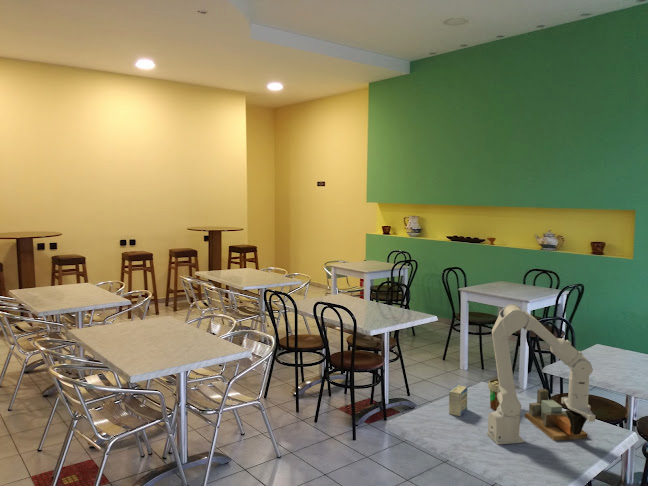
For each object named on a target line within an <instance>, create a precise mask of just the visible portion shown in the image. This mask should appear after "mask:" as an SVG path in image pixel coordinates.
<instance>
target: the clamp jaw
mask: <svg viewBox="0 0 648 486" xmlns="http://www.w3.org/2000/svg"><path fill="white" fill-rule="evenodd" d="M543 425H545V426H558V427H560V428H561V429H562V430H564V431H565V432H566V433H567V434H569V435H578V434H573V433H572V428H571V424H570V420H569V418H568V415H567V414H566V410H562V411H559V412H545V413H543Z"/></svg>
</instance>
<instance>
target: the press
mask: <svg viewBox="0 0 648 486" xmlns="http://www.w3.org/2000/svg"><path fill="white" fill-rule="evenodd" d="M536 397H537V398H536V402H530V403H529V405H528V407H529V408H528V412H524V417H525V419H527V420H528V421H529V422H530V423H532V424H533V425H534V426H535V427H536V428H538V429H539V430H540V431H541V432H542V433H544V434H545V435H546V436H547V437H549V438H550V439H551V440H552V441H568V440H569V441H570V440H579V439H588V437H589V436H588V434H589V433H588V432H586V431H584V429H582V431H581V434H578V435H569V434H567V433H566V432H565V431H564V430H562V429H561V428H560V427H558V426H545V425H543V418H542V417H541V401H542V400H549V391H548V390H547V389H546V388H541V389H540V388H539V389H537V395H536ZM555 402H556V403H558V402H557V401H555Z"/></svg>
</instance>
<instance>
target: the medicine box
mask: <svg viewBox="0 0 648 486" xmlns="http://www.w3.org/2000/svg"><path fill="white" fill-rule="evenodd" d="M467 409H468V386H464V385H459V384H456V385H455V386H454V387H453V388H451V390H449V391H448V414H449V415H451V416H452V415H453V416H456V417H461V416H462V415H463V414H464V413H465V412H466V410H467Z"/></svg>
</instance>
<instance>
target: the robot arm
mask: <svg viewBox="0 0 648 486" xmlns="http://www.w3.org/2000/svg"><path fill="white" fill-rule="evenodd" d="M522 329H523V330H524V331H532V332H533V333H534V334H536V335H537V336H539V338H541V339H542V340H543V341H544V342H546V343H547V344H548V345H549V348H550V349H549V350H550V352H551V354H553V355H554V356H555V357H556V358H557V359H559V360H560V361H561V362H562V363H563V364H564V365H566V366H567V367H568V368H570V369H569V377H568V395H567V396H563V397H561V404H562V405H563V404H564V405H565V406H566V407H567V410H565V411H566V414H567V415H568V418H569V420H570V424H571V428H572V433H573V434H581V431H582V430H583V428H584V426H585V423H586V422H587V421H588V423H591V422H592V423H593V422H594V423H595V422H596V415H595V414H594V413H593V412H592V411H591V405H590V404H589V392H590V390H589V388H590V376H591V375H592V373H593V370H594V369H593V366H592V363H591V362H590V361H589V360H588V359H587V358H586V357H585V356H584V354H583V352H581V351H580V350H577V349H576V348H575V347H574V346H573V345H572V342H571V341H569V340H568V339H566V340H565V338H560V337H558V338H557V337H556V336H555V335H554V334H553V333H552V332H550V331H549V329H547V328H546V326H544V325H543V324H542V323H541V322H540V321H539V320H537V318H536V317H534V316H533V315H532V314H530V313H529V312H527V311H526V310H525V309H522V308H521V307H520V306H519V305H517V304H514V303H510V304H507V305H505V306H504V307H503V308H502V309H501V310H500V311H499V313H498V316H497V319H496V321H495V323H494V324H493V326H492V329H491V337H492V343H493V344H492V345H493V352H494V357H495V365H496V372H497V373H496V374H497V378H498V381H499V384H498V387H499V390H498V393H497V399H498V401H499V403H500V405H499V406H498V408H497V410H496V411H493V412H490V413H488V419H487V420H488V421H487V432H486V434H487V435H488V437H490V439H492V440H493V441H494V443H496V445H507V444H508V445H509V444H520V443H525V442H526V441H525V440H524V439H523V438H522V437H521V436H520V431H521V430H520V428H521V427H520V426H521V425H520V422H521V411H522V403H521V402H520V401H519V399H518V397H517V395H518V394H517V391H516V386H515V381H514V373H513V365H512V359H511V351H510V343H509V338H510V337H511V336H512V335H513V334H514V333H516V332H518V331H520V330H522Z"/></svg>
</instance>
